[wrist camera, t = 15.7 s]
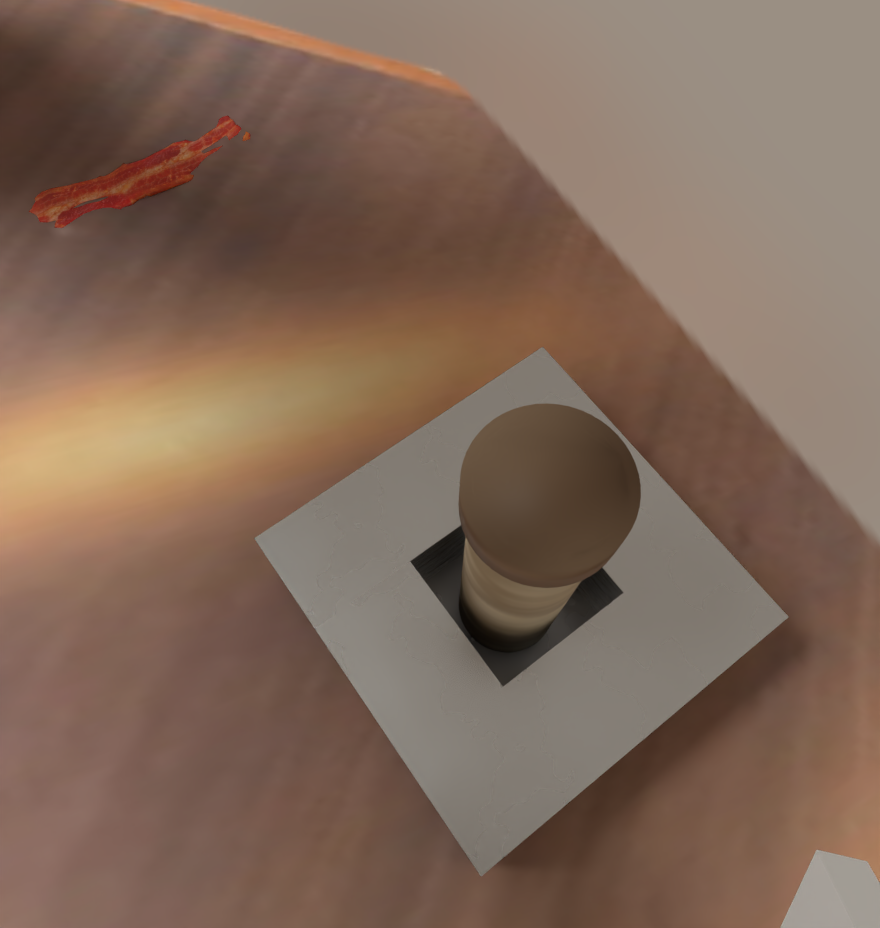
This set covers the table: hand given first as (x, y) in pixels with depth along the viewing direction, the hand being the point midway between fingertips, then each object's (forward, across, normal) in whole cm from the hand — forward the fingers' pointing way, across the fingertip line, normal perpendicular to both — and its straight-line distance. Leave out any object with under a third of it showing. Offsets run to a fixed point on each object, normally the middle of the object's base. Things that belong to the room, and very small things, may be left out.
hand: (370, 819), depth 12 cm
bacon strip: (+34, -21, +6) cm, 40 cm away
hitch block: (+20, +4, -6) cm, 22 cm away
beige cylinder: (+20, +4, -6) cm, 21 cm away
